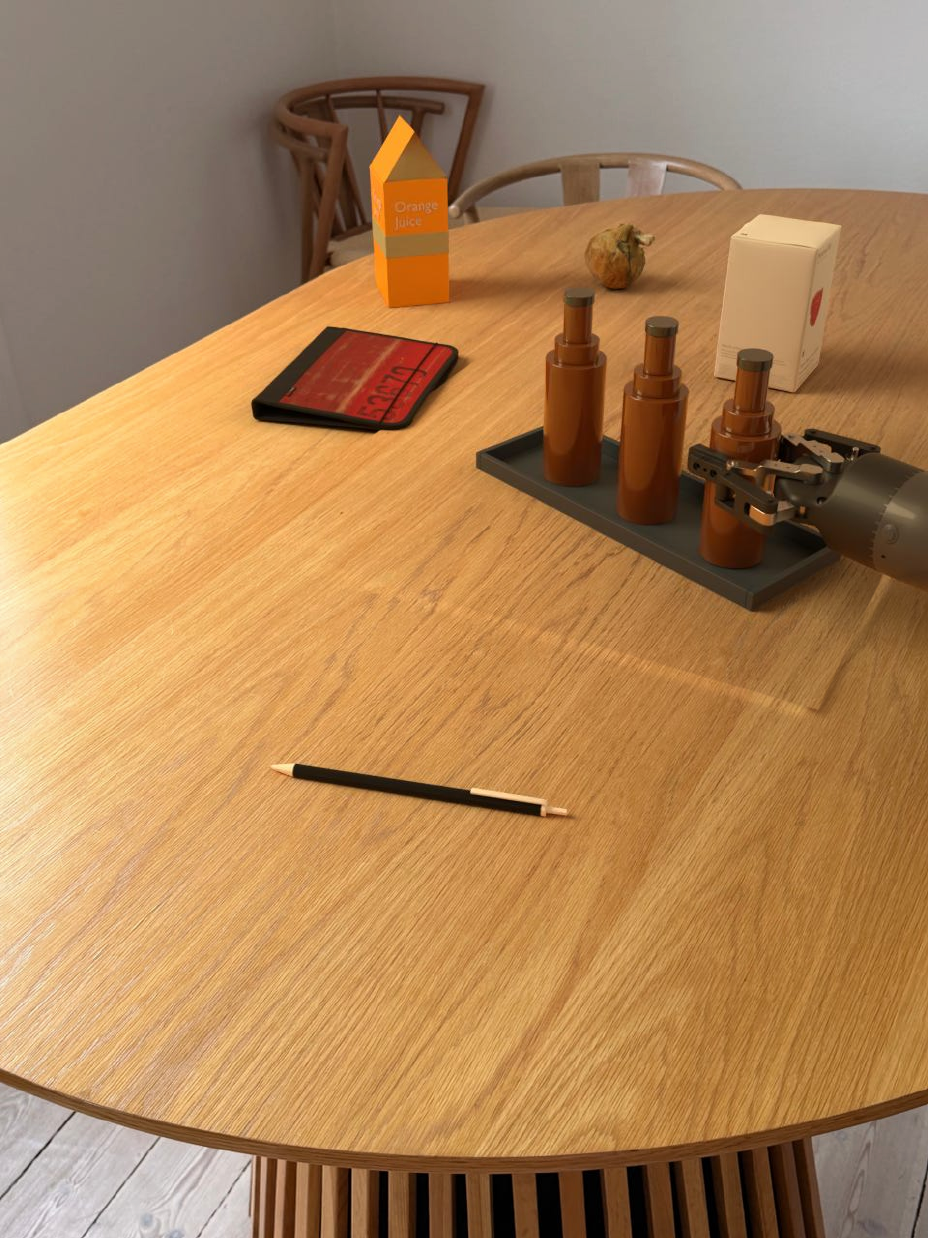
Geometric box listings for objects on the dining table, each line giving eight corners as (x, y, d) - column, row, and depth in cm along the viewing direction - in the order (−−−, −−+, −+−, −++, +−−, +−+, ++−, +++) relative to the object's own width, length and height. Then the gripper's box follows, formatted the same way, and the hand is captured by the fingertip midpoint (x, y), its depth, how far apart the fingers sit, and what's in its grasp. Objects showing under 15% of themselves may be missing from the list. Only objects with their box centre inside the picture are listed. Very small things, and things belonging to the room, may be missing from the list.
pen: (565, 823, 73) (566, 809, 72) (267, 776, 77) (265, 762, 76) (567, 813, 74) (568, 799, 73) (272, 767, 78) (270, 753, 77)
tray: (839, 565, 96) (843, 542, 95) (750, 618, 90) (753, 594, 89) (564, 436, 116) (564, 416, 115) (475, 472, 110) (475, 452, 109)
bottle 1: (609, 467, 110) (621, 287, 100) (586, 492, 106) (595, 307, 96) (557, 455, 112) (563, 277, 102) (532, 479, 108) (536, 296, 98)
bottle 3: (772, 545, 98) (800, 348, 89) (752, 575, 94) (780, 373, 85) (710, 530, 100) (731, 337, 91) (688, 559, 96) (709, 360, 87)
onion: (632, 272, 156) (636, 208, 151) (653, 292, 149) (658, 227, 145) (575, 276, 154) (578, 213, 150) (594, 297, 148) (597, 231, 143)
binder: (249, 398, 118) (325, 323, 135) (251, 420, 120) (326, 343, 136) (406, 421, 115) (464, 341, 132) (406, 443, 117) (463, 362, 133)
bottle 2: (685, 503, 104) (705, 316, 94) (664, 530, 100) (682, 338, 91) (629, 490, 106) (642, 305, 97) (605, 516, 102) (617, 326, 93)
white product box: (795, 395, 124) (818, 248, 115) (711, 378, 127) (728, 234, 119) (821, 364, 130) (844, 223, 122) (740, 349, 134) (758, 211, 125)
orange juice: (387, 307, 146) (379, 132, 134) (374, 284, 153) (365, 115, 141) (451, 302, 147) (448, 128, 136) (435, 278, 154) (431, 111, 143)
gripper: (838, 608, 82) (649, 517, 92) (954, 536, 89) (767, 460, 100) (857, 510, 77) (656, 426, 88) (976, 444, 85) (779, 374, 96)
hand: (716, 445), depth 94 cm, fingers closed on bottle 3, 5 cm apart
